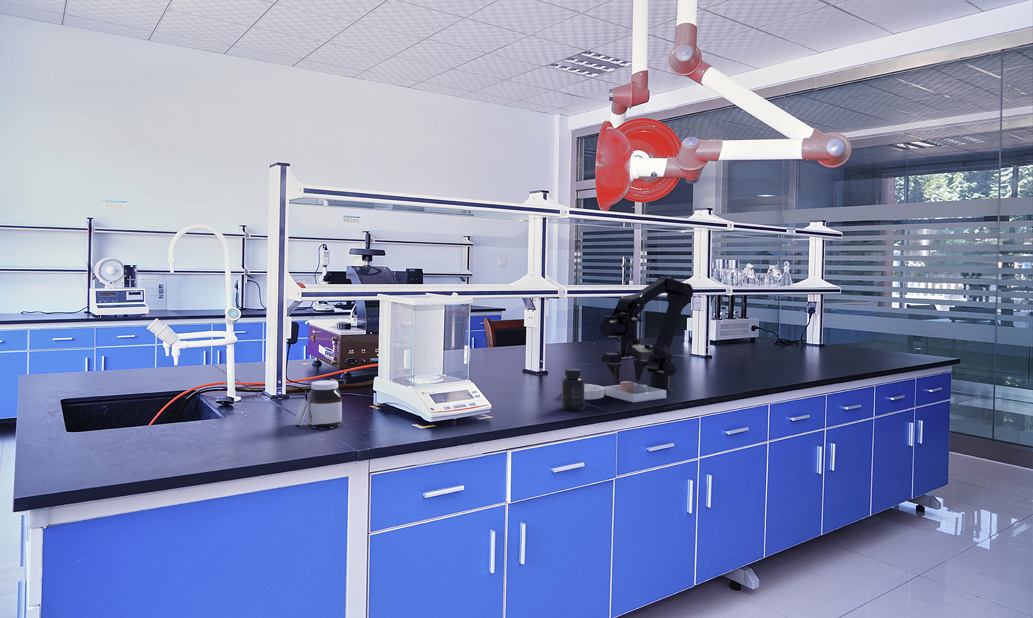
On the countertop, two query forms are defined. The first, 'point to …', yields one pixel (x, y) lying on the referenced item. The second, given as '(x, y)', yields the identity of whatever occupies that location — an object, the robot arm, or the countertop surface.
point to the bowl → (593, 391)
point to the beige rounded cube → (627, 387)
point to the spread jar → (322, 405)
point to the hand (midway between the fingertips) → (627, 382)
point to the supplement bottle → (572, 390)
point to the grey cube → (640, 388)
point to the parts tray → (650, 395)
